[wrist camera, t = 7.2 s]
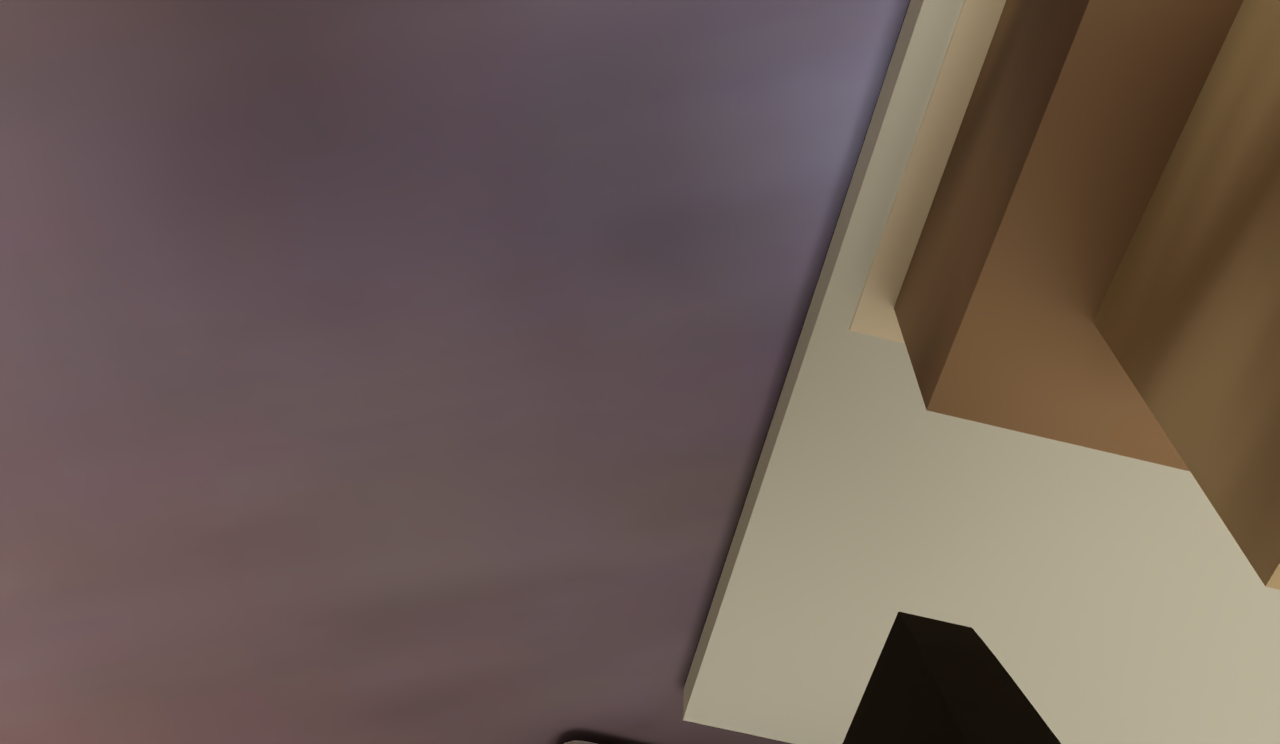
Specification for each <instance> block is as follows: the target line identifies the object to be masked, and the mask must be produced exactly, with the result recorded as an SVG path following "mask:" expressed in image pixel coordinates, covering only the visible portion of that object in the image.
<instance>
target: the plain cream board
mask: <svg viewBox="0 0 1280 744" xmlns="http://www.w3.org/2000/svg"><path fill="white" fill-rule="evenodd" d="M1005 3H1006V0H911V1H910V4H909V7H908V10H907V13H906V16H905V19H904V22H903V25H902V28H901V31H900V34H899V37H898V40H897V43H896V46H895V49H894V52H893V55H892V58H891V61H890V64H889V67H888V71H887V74H886V77H885V80H884V83H883V86H882V89H881V92H880V95H879V98H878V101H877V104H876V107H875V110H874V113H873V116H872V119H871V122H870V125H869V128H868V131H867V134H866V137H865V140H864V143H863V146H862V149H861V152H860V155H859V158H858V161H857V165H856V168H855V171H854V174H853V177H852V180H851V183H850V186H849V189H848V192H847V195H846V198H845V201H844V204H843V207H842V210H841V213H840V216H839V219H838V222H837V225H836V228H835V231H834V234H833V237H832V240H831V243H830V246H829V249H828V252H827V255H826V258H825V262H824V265H823V268H822V271H821V274H820V277H819V280H818V283H817V286H816V289H815V292H814V295H813V298H812V301H811V304H810V307H809V310H808V313H807V316H806V319H805V322H804V325H803V328H802V331H801V334H800V337H799V340H798V343H797V346H796V349H795V352H794V356H793V359H792V362H791V365H790V368H789V371H788V374H787V377H786V380H785V383H784V386H783V389H782V392H781V395H780V398H779V401H778V404H777V407H776V410H775V413H774V416H773V419H772V422H771V425H770V428H769V431H768V434H767V437H766V440H765V443H764V446H763V450H762V453H761V456H760V459H759V462H758V465H757V468H756V471H755V474H754V477H753V480H752V483H751V486H750V489H749V492H748V495H747V498H746V501H745V504H744V507H743V510H742V513H741V516H740V519H739V522H738V525H737V528H736V531H735V534H734V537H733V540H732V543H731V547H730V550H729V553H728V556H727V559H726V562H725V565H724V568H723V571H722V574H721V577H720V580H719V583H718V586H717V589H716V592H715V595H714V598H713V601H712V604H711V607H710V610H709V613H708V616H707V619H706V622H705V625H704V628H703V631H702V634H701V637H700V641H699V644H698V647H697V650H696V653H695V656H694V659H693V662H692V665H691V668H690V671H689V674H688V677H687V680H686V683H685V686H684V693H683V720H685V721H689V722H694V723H699V724H703V725H708V726H713V727H717V728H722V729H727V730H732V731H736V732H741V733H746V734H750V735H755V736H760V737H764V738H769V739H774V740H779V741H783V742H788V743H793V744H843V741H844V739H845V737H846V734H847V732H848V729H849V727H850V725H851V722H852V720H853V718H854V715H855V713H856V711H857V708H858V706H859V703H860V701H861V699H862V696H863V694H864V692H865V689H866V687H867V685H868V682H869V680H870V677H871V675H872V673H873V670H874V668H875V666H876V663H877V661H878V659H879V656H880V654H881V651H882V649H883V647H884V644H885V642H886V640H887V637H888V635H889V633H890V630H891V628H892V625H893V623H894V621H895V618H896V616H897V614H898V611H899V612H904V613H908V614H913V615H917V616H922V617H926V618H931V619H935V620H940V621H944V622H949V623H953V624H958V625H962V626H967V627H972V628H973V629H974V631H975V632H976V633H977V634H978V635H979V637H980V638H981V639H982V640H983V641H984V643H985V644H986V645H987V646H988V648H989V649H990V650H991V651H992V653H993V654H994V655H995V657H996V658H997V659H998V660H999V662H1000V663H1001V664H1002V666H1003V667H1004V668H1005V670H1006V671H1007V672H1008V674H1009V675H1010V676H1011V677H1012V679H1013V680H1014V681H1015V683H1016V684H1017V685H1018V687H1019V688H1020V689H1021V691H1022V692H1023V693H1024V695H1025V696H1026V697H1027V699H1028V700H1029V701H1030V703H1031V704H1032V705H1033V707H1034V708H1035V709H1036V711H1037V712H1038V713H1039V715H1040V716H1041V717H1042V719H1043V720H1044V721H1045V723H1046V724H1047V725H1048V727H1049V728H1050V729H1051V731H1052V732H1053V733H1054V735H1055V736H1056V737H1057V739H1058V740H1059V741H1060V743H1061V744H1280V590H1278V589H1274V588H1270V587H1265V585H1264V584H1263V582H1262V581H1261V579H1260V578H1259V576H1258V575H1257V573H1256V572H1255V570H1254V568H1253V567H1252V565H1251V564H1250V562H1249V561H1248V559H1247V558H1246V556H1245V555H1244V553H1243V552H1242V550H1241V549H1240V547H1239V545H1238V544H1237V542H1236V541H1235V539H1234V538H1233V536H1232V535H1231V533H1230V532H1229V530H1228V529H1227V527H1226V526H1225V524H1224V522H1223V521H1222V519H1221V518H1220V516H1219V515H1218V513H1217V512H1216V510H1215V509H1214V507H1213V506H1212V504H1211V503H1210V501H1209V499H1208V498H1207V496H1206V495H1205V493H1204V492H1203V490H1202V489H1201V487H1200V486H1199V484H1198V483H1197V481H1196V480H1195V478H1194V476H1193V475H1192V473H1191V472H1190V471H1186V470H1182V469H1177V468H1173V467H1169V466H1165V465H1160V464H1156V463H1152V462H1147V461H1143V460H1139V459H1134V458H1130V457H1126V456H1121V455H1117V454H1113V453H1108V452H1104V451H1100V450H1096V449H1091V448H1087V447H1083V446H1078V445H1074V444H1070V443H1065V442H1061V441H1057V440H1052V439H1048V438H1044V437H1039V436H1035V435H1031V434H1027V433H1022V432H1018V431H1014V430H1009V429H1005V428H1001V427H996V426H992V425H988V424H983V423H979V422H975V421H970V420H966V419H962V418H958V417H953V416H949V415H945V414H940V413H936V412H932V411H927V410H926V407H925V404H924V401H923V398H922V395H921V392H920V388H919V385H918V382H917V379H916V376H915V373H914V370H913V367H912V364H911V360H910V357H909V354H908V351H907V348H906V345H905V342H904V339H903V336H902V332H901V329H900V326H899V323H898V320H897V317H896V314H895V311H894V306H895V303H896V300H897V298H898V295H899V292H900V290H901V287H902V284H903V281H904V279H905V276H906V273H907V270H908V268H909V265H910V262H911V259H912V257H913V254H914V251H915V249H916V246H917V243H918V240H919V238H920V235H921V232H922V229H923V227H924V224H925V221H926V218H927V216H928V213H929V210H930V208H931V205H932V202H933V199H934V197H935V194H936V191H937V188H938V186H939V183H940V180H941V177H942V175H943V172H944V169H945V167H946V164H947V161H948V158H949V156H950V153H951V150H952V147H953V145H954V142H955V139H956V137H957V134H958V131H959V128H960V126H961V123H962V120H963V117H964V115H965V112H966V109H967V106H968V104H969V101H970V98H971V96H972V93H973V90H974V87H975V85H976V82H977V79H978V76H979V74H980V71H981V68H982V65H983V63H984V60H985V57H986V55H987V52H988V49H989V46H990V44H991V41H992V38H993V35H994V33H995V30H996V27H997V25H998V22H999V19H1000V16H1001V14H1002V11H1003V8H1004V5H1005Z"/></svg>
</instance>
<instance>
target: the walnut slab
mask: <svg viewBox="0 0 1280 744" xmlns="http://www.w3.org/2000/svg"><path fill="white" fill-rule="evenodd" d="M1243 1H1244V0H1006V3H1005V5H1004V8H1003V11H1002V14H1001V16H1000V19H999V22H998V25H997V27H996V30H995V33H994V35H993V38H992V41H991V44H990V46H989V49H988V52H987V55H986V57H985V60H984V63H983V65H982V68H981V71H980V74H979V76H978V79H977V82H976V85H975V87H974V90H973V93H972V96H971V98H970V101H969V104H968V106H967V109H966V112H965V115H964V117H963V120H962V123H961V126H960V128H959V131H958V134H957V137H956V139H955V142H954V145H953V147H952V150H951V153H950V156H949V158H948V161H947V164H946V167H945V169H944V172H943V175H942V177H941V180H940V183H939V186H938V188H937V191H936V194H935V197H934V199H933V202H932V205H931V208H930V210H929V213H928V216H927V218H926V221H925V224H924V227H923V229H922V232H921V235H920V238H919V240H918V243H917V246H916V249H915V251H914V254H913V257H912V259H911V262H910V265H909V268H908V270H907V273H906V276H905V279H904V281H903V284H902V287H901V290H900V292H899V295H898V298H897V300H896V303H895V306H894V311H895V314H896V317H897V320H898V323H899V326H900V329H901V332H902V336H903V339H904V342H905V345H906V348H907V351H908V354H909V357H910V360H911V364H912V367H913V370H914V373H915V376H916V379H917V382H918V385H919V388H920V392H921V395H922V398H923V401H924V404H925V407H926V410H927V411H932V412H936V413H940V414H945V415H949V416H953V417H958V418H962V419H966V420H970V421H975V422H979V423H983V424H988V425H992V426H996V427H1001V428H1005V429H1009V430H1014V431H1018V432H1022V433H1027V434H1031V435H1035V436H1039V437H1044V438H1048V439H1052V440H1057V441H1061V442H1065V443H1070V444H1074V445H1078V446H1083V447H1087V448H1091V449H1096V450H1100V451H1104V452H1108V453H1113V454H1117V455H1121V456H1126V457H1130V458H1134V459H1139V460H1143V461H1147V462H1152V463H1156V464H1160V465H1165V466H1169V467H1173V468H1177V469H1182V470H1186V471H1190V470H1189V469H1188V467H1187V466H1186V464H1185V463H1184V461H1183V460H1182V458H1181V457H1180V455H1179V454H1178V452H1177V450H1176V449H1175V447H1174V446H1173V444H1172V443H1171V441H1170V440H1169V438H1168V437H1167V435H1166V434H1165V432H1164V431H1163V429H1162V427H1161V426H1160V424H1159V423H1158V421H1157V420H1156V418H1155V417H1154V415H1153V414H1152V412H1151V411H1150V409H1149V408H1148V406H1147V404H1146V403H1145V401H1144V400H1143V398H1142V397H1141V395H1140V394H1139V392H1138V391H1137V389H1136V388H1135V386H1134V385H1133V383H1132V381H1131V380H1130V378H1129V377H1128V375H1127V374H1126V372H1125V371H1124V369H1123V368H1122V366H1121V365H1120V363H1119V362H1118V360H1117V358H1116V357H1115V355H1114V354H1113V352H1112V351H1111V349H1110V348H1109V346H1108V345H1107V343H1106V342H1105V340H1104V339H1103V337H1102V335H1101V334H1100V332H1099V331H1098V329H1097V328H1096V326H1095V325H1094V323H1093V320H1094V318H1095V316H1096V314H1097V312H1098V310H1099V308H1100V306H1101V303H1102V301H1103V299H1104V297H1105V295H1106V293H1107V291H1108V288H1109V286H1110V284H1111V282H1112V280H1113V278H1114V276H1115V274H1116V271H1117V269H1118V267H1119V265H1120V263H1121V261H1122V259H1123V256H1124V254H1125V252H1126V250H1127V248H1128V246H1129V244H1130V242H1131V239H1132V237H1133V235H1134V233H1135V231H1136V229H1137V227H1138V224H1139V222H1140V220H1141V218H1142V216H1143V214H1144V212H1145V210H1146V207H1147V205H1148V203H1149V201H1150V199H1151V197H1152V195H1153V193H1154V190H1155V188H1156V186H1157V184H1158V182H1159V180H1160V178H1161V175H1162V173H1163V171H1164V169H1165V167H1166V165H1167V163H1168V161H1169V158H1170V156H1171V154H1172V152H1173V150H1174V148H1175V146H1176V143H1177V141H1178V139H1179V137H1180V135H1181V133H1182V131H1183V129H1184V126H1185V124H1186V122H1187V120H1188V118H1189V116H1190V114H1191V111H1192V109H1193V107H1194V105H1195V103H1196V101H1197V99H1198V97H1199V94H1200V92H1201V90H1202V88H1203V86H1204V84H1205V82H1206V79H1207V77H1208V75H1209V73H1210V71H1211V69H1212V67H1213V65H1214V62H1215V60H1216V58H1217V56H1218V54H1219V52H1220V50H1221V47H1222V45H1223V43H1224V41H1225V39H1226V37H1227V35H1228V33H1229V30H1230V28H1231V26H1232V24H1233V22H1234V20H1235V18H1236V16H1237V13H1238V11H1239V9H1240V7H1241V5H1242V3H1243Z"/></svg>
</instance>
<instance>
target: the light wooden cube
mask: <svg viewBox="0 0 1280 744" xmlns="http://www.w3.org/2000/svg"><path fill="white" fill-rule="evenodd" d="M1093 323H1094V325H1095V326H1096V328H1097V329H1098V331H1099V332H1100V334H1101V335H1102V337H1103V339H1104V340H1105V342H1106V343H1107V345H1108V346H1109V348H1110V349H1111V351H1112V352H1113V354H1114V355H1115V357H1116V358H1117V360H1118V362H1119V363H1120V365H1121V366H1122V368H1123V369H1124V371H1125V372H1126V374H1127V375H1128V377H1129V378H1130V380H1131V381H1132V383H1133V385H1134V386H1135V388H1136V389H1137V391H1138V392H1139V394H1140V395H1141V397H1142V398H1143V400H1144V401H1145V403H1146V404H1147V406H1148V408H1149V409H1150V411H1151V412H1152V414H1153V415H1154V417H1155V418H1156V420H1157V421H1158V423H1159V424H1160V426H1161V427H1162V429H1163V431H1164V432H1165V434H1166V435H1167V437H1168V438H1169V440H1170V441H1171V443H1172V444H1173V446H1174V447H1175V449H1176V450H1177V452H1178V454H1179V455H1180V457H1181V458H1182V460H1183V461H1184V463H1185V464H1186V466H1187V467H1188V469H1189V470H1190V472H1191V473H1192V475H1193V476H1194V478H1195V480H1196V481H1197V483H1198V484H1199V486H1200V487H1201V489H1202V490H1203V492H1204V493H1205V495H1206V496H1207V498H1208V499H1209V501H1210V503H1211V504H1212V506H1213V507H1214V509H1215V510H1216V512H1217V513H1218V515H1219V516H1220V518H1221V519H1222V521H1223V522H1224V524H1225V526H1226V527H1227V529H1228V530H1229V532H1230V533H1231V535H1232V536H1233V538H1234V539H1235V541H1236V542H1237V544H1238V545H1239V547H1240V549H1241V550H1242V552H1243V553H1244V555H1245V556H1246V558H1247V559H1248V561H1249V562H1250V564H1251V565H1252V567H1253V568H1254V570H1255V572H1256V573H1257V575H1258V576H1259V578H1260V579H1261V581H1262V582H1263V584H1264V585H1265V587H1270V588H1274V589H1278V590H1280V0H1244V1H1243V3H1242V5H1241V7H1240V9H1239V11H1238V13H1237V16H1236V18H1235V20H1234V22H1233V24H1232V26H1231V28H1230V30H1229V33H1228V35H1227V37H1226V39H1225V41H1224V43H1223V45H1222V47H1221V50H1220V52H1219V54H1218V56H1217V58H1216V60H1215V62H1214V65H1213V67H1212V69H1211V71H1210V73H1209V75H1208V77H1207V79H1206V82H1205V84H1204V86H1203V88H1202V90H1201V92H1200V94H1199V97H1198V99H1197V101H1196V103H1195V105H1194V107H1193V109H1192V111H1191V114H1190V116H1189V118H1188V120H1187V122H1186V124H1185V126H1184V129H1183V131H1182V133H1181V135H1180V137H1179V139H1178V141H1177V143H1176V146H1175V148H1174V150H1173V152H1172V154H1171V156H1170V158H1169V161H1168V163H1167V165H1166V167H1165V169H1164V171H1163V173H1162V175H1161V178H1160V180H1159V182H1158V184H1157V186H1156V188H1155V190H1154V193H1153V195H1152V197H1151V199H1150V201H1149V203H1148V205H1147V207H1146V210H1145V212H1144V214H1143V216H1142V218H1141V220H1140V222H1139V224H1138V227H1137V229H1136V231H1135V233H1134V235H1133V237H1132V239H1131V242H1130V244H1129V246H1128V248H1127V250H1126V252H1125V254H1124V256H1123V259H1122V261H1121V263H1120V265H1119V267H1118V269H1117V271H1116V274H1115V276H1114V278H1113V280H1112V282H1111V284H1110V286H1109V288H1108V291H1107V293H1106V295H1105V297H1104V299H1103V301H1102V303H1101V306H1100V308H1099V310H1098V312H1097V314H1096V316H1095V318H1094V320H1093Z"/></svg>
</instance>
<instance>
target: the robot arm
mask: <svg viewBox="0 0 1280 744" xmlns="http://www.w3.org/2000/svg"><path fill="white" fill-rule="evenodd" d="M564 744H597V743H592V742H587V741H576V740H574V741H570V742H566V743H564ZM843 744H1061V743H1060V741H1059V740H1058V739H1057V737H1056V736H1055V735H1054V733H1053V732H1052V731H1051V729H1050V728H1049V727H1048V725H1047V724H1046V723H1045V721H1044V720H1043V719H1042V717H1041V716H1040V715H1039V713H1038V712H1037V711H1036V709H1035V708H1034V707H1033V705H1032V704H1031V703H1030V701H1029V700H1028V699H1027V697H1026V696H1025V695H1024V693H1023V692H1022V691H1021V689H1020V688H1019V687H1018V685H1017V684H1016V683H1015V681H1014V680H1013V679H1012V677H1011V676H1010V675H1009V674H1008V672H1007V671H1006V670H1005V668H1004V667H1003V666H1002V664H1001V663H1000V662H999V660H998V659H997V658H996V657H995V655H994V654H993V653H992V651H991V650H990V649H989V648H988V646H987V645H986V644H985V643H984V641H983V640H982V639H981V638H980V637H979V635H978V634H977V633H976V632H975V631H974V629H973V628H972V627H967V626H962V625H958V624H953V623H949V622H944V621H940V620H935V619H931V618H926V617H922V616H917V615H913V614H908V613H904V612H899V611H898V614H897V616H896V618H895V621H894V623H893V625H892V628H891V630H890V633H889V635H888V637H887V640H886V642H885V644H884V647H883V649H882V651H881V654H880V656H879V659H878V661H877V663H876V666H875V668H874V670H873V673H872V675H871V677H870V680H869V682H868V685H867V687H866V689H865V692H864V694H863V696H862V699H861V701H860V703H859V706H858V708H857V711H856V713H855V715H854V718H853V720H852V722H851V725H850V727H849V729H848V732H847V734H846V737H845V739H844V741H843Z"/></svg>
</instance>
